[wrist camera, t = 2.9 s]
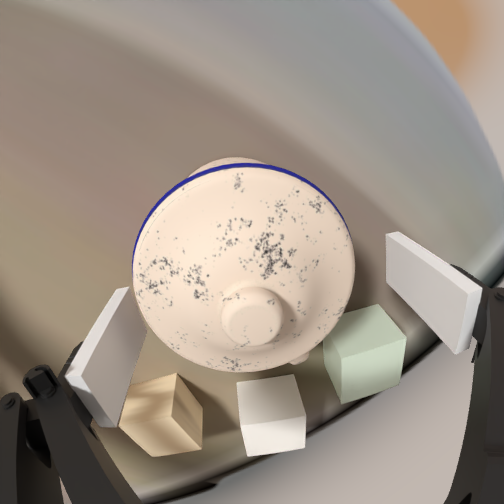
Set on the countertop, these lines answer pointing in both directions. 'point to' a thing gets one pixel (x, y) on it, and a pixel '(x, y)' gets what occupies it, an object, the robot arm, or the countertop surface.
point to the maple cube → (163, 416)
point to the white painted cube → (271, 415)
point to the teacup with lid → (243, 266)
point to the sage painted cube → (364, 353)
